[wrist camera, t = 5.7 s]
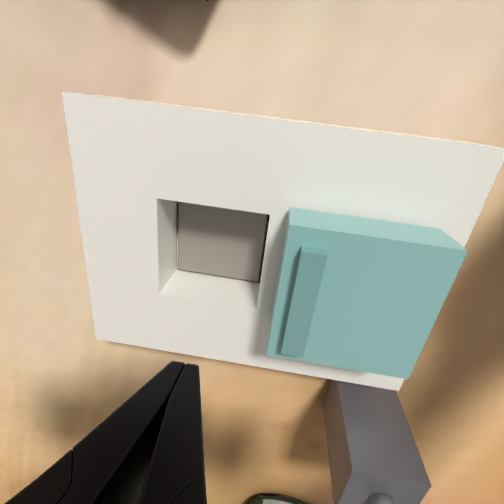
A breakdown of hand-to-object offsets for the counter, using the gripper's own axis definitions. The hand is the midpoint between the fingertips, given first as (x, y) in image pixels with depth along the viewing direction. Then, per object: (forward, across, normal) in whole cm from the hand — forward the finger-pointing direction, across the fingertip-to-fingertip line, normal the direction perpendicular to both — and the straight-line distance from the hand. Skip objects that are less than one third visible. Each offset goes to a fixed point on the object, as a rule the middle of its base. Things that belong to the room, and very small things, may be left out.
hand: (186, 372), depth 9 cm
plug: (+10, -10, +11) cm, 18 cm away
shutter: (+7, -6, 0) cm, 9 cm away
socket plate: (+10, -2, 0) cm, 11 cm away
